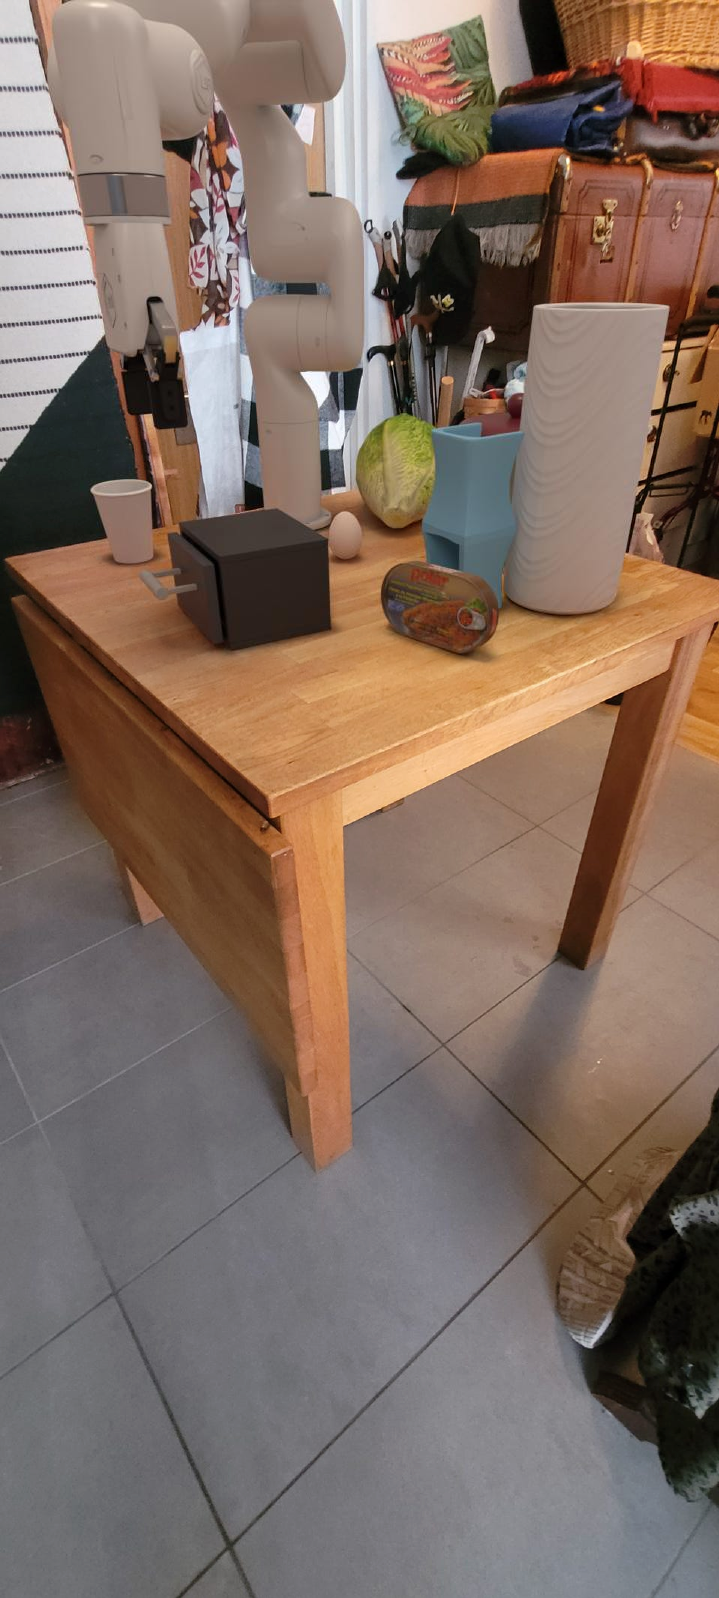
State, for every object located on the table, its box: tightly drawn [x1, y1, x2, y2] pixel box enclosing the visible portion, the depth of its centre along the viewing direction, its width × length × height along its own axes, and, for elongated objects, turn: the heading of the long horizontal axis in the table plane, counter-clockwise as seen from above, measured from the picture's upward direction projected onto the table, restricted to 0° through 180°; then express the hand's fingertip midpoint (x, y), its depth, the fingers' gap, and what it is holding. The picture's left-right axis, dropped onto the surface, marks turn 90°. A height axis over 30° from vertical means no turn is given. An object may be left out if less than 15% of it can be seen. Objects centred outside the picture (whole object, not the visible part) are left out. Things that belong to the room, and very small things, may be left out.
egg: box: [327, 510, 363, 560], centre depth 110 cm, size 5×5×7 cm
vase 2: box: [503, 302, 670, 616], centre depth 89 cm, size 14×14×32 cm
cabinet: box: [178, 508, 332, 651], centre depth 90 cm, size 13×15×11 cm
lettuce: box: [355, 412, 437, 529], centre depth 126 cm, size 15×24×16 cm
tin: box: [380, 560, 500, 654], centre depth 85 cm, size 15×3×8 cm, turn 47°
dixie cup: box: [90, 478, 154, 564], centre depth 110 cm, size 8×8×10 cm
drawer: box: [138, 531, 226, 645], centre depth 89 cm, size 16×13×9 cm
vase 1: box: [421, 422, 525, 609], centre depth 91 cm, size 8×8×20 cm
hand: (156, 420), depth 77 cm, fingers open, 9 cm apart
